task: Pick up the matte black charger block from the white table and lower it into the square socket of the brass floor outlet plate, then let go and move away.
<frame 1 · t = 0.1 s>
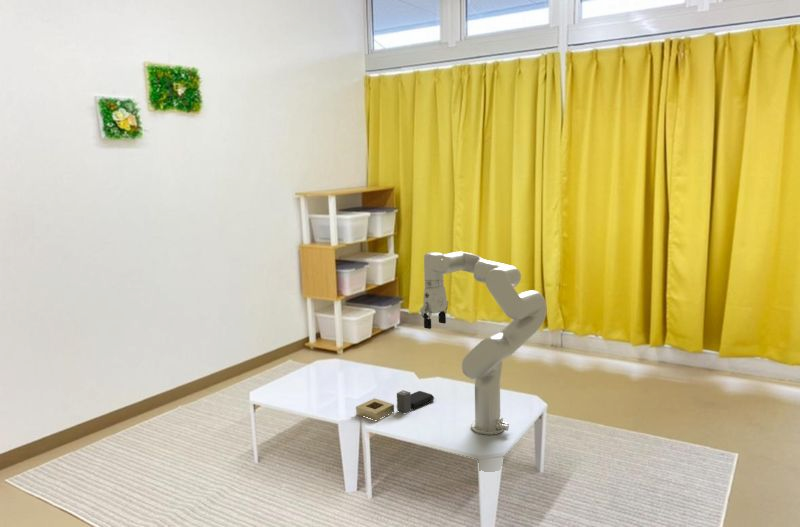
hand: (435, 325, 222), 37 cm above the table, tool pointing down, fingers open, 9 cm apart
carrying case or bag: (417, 404, 238), on the table
socket plate: (375, 413, 229), on the table
charger: (404, 411, 230), on the table
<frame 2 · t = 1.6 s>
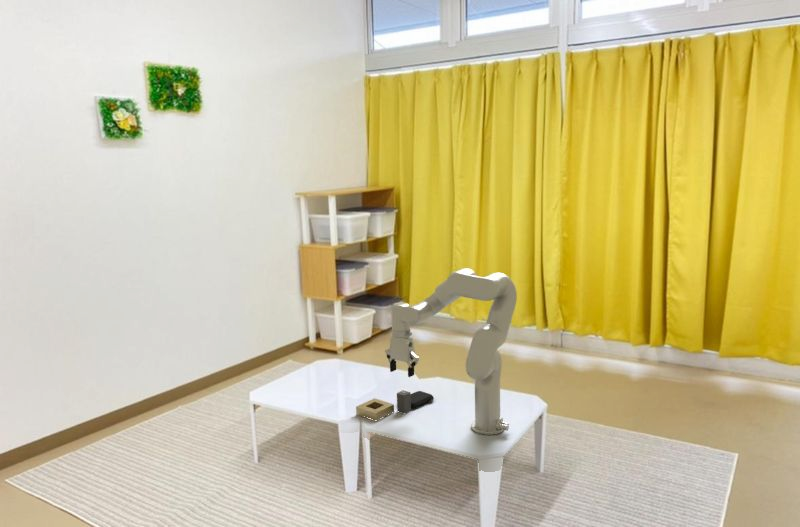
hand: (402, 373, 228), 16 cm above the table, tool pointing down, fingers open, 9 cm apart
nothing on the table moved.
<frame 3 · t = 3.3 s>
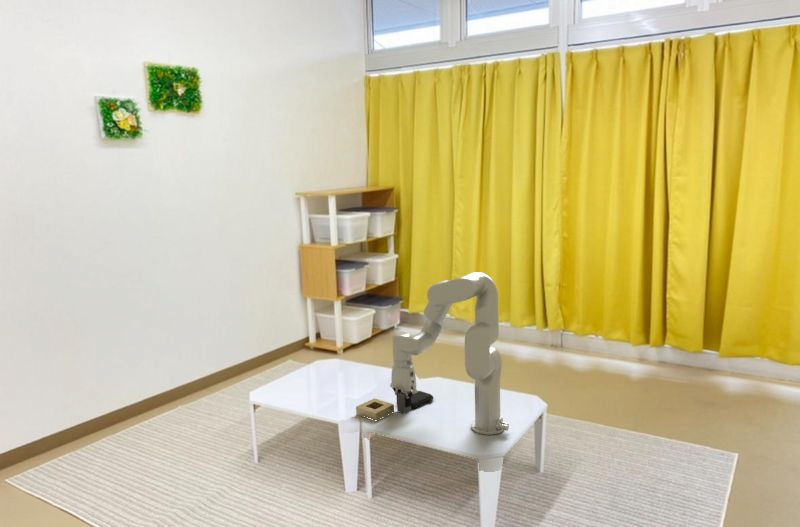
hand: (404, 404, 230), 3 cm above the table, tool pointing down, fingers closed on charger, 3 cm apart
charger: (404, 411, 230), on the table, touching gripper
everything else where it was.
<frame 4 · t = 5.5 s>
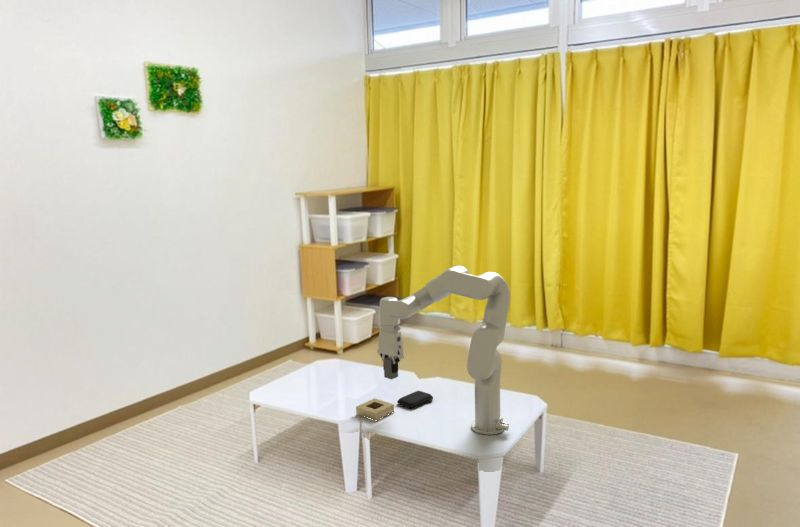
hand: (390, 370, 227), 18 cm above the table, tool pointing down, fingers closed on charger, 4 cm apart
charger: (391, 377, 227), point 15 cm above the table, touching gripper
everything else where it was.
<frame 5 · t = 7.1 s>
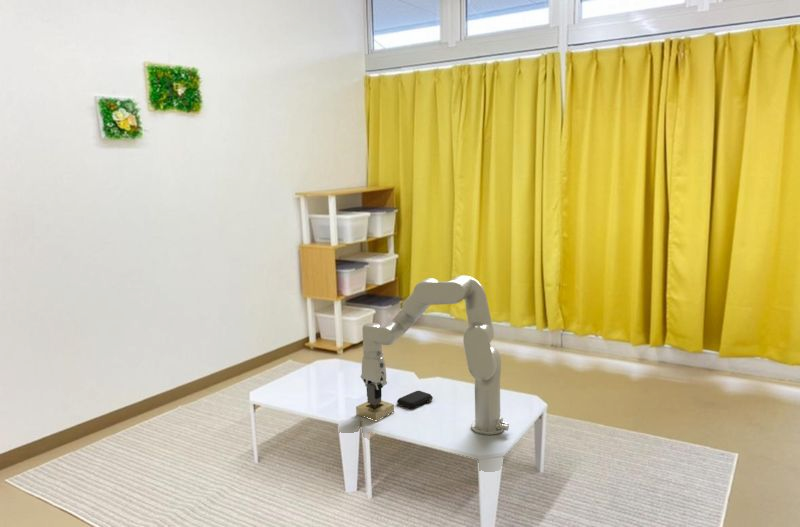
hand: (374, 396, 227), 7 cm above the table, tool pointing down, fingers closed on charger, 4 cm apart
charger: (374, 402, 228), point 5 cm above the table, touching gripper
everything else where it was.
when the fingers open (5 cm above the table, at t = 8.0 s): charger drops 2 cm, resting on socket plate.
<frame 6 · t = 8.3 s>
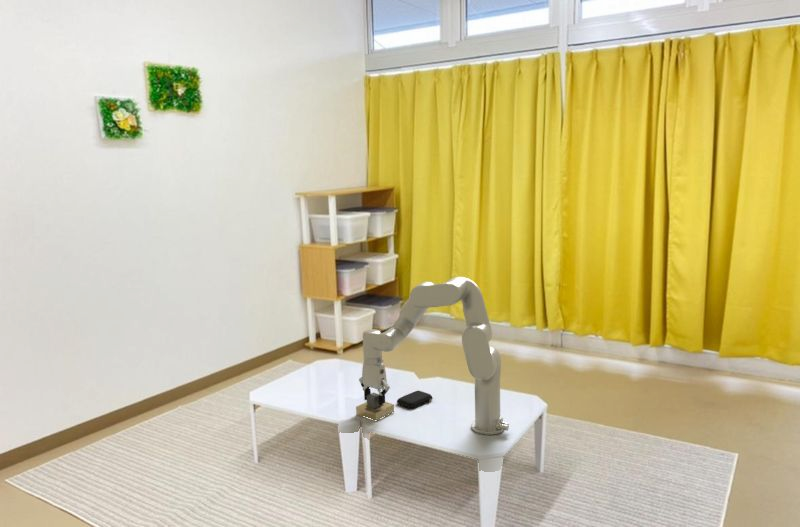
hand: (374, 401, 228), 5 cm above the table, tool pointing down, fingers open, 7 cm apart
charger: (374, 413, 228), resting on socket plate
everything else where it was.
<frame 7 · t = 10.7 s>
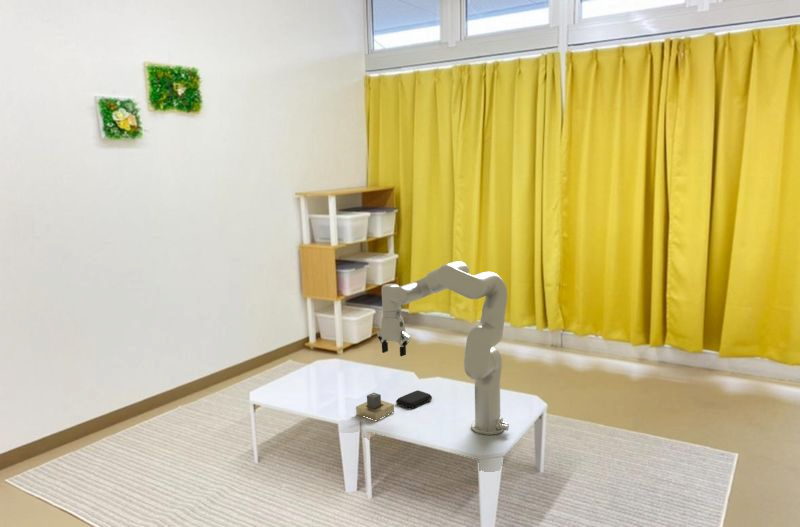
hand: (394, 353, 232), 23 cm above the table, tool pointing down, fingers open, 9 cm apart
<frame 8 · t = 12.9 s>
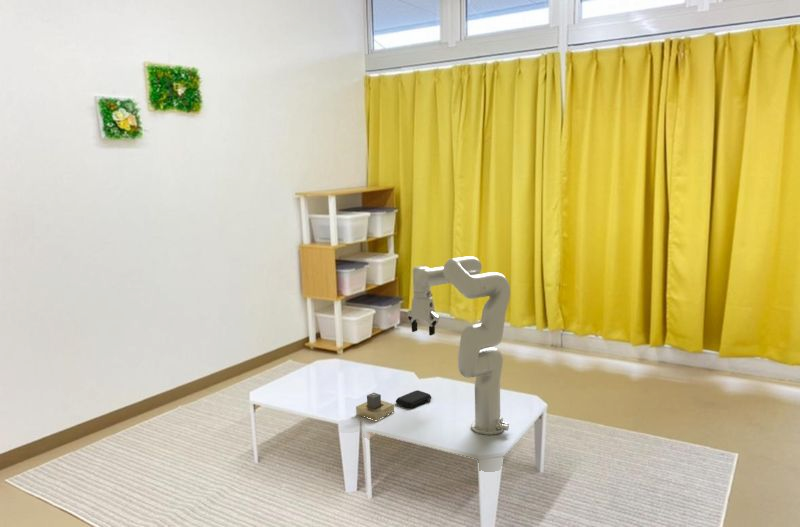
hand: (423, 333, 243), 28 cm above the table, tool pointing down, fingers open, 9 cm apart
at the end: charger 0.6 cm off-centre on the socket plate, point 0.2 cm above the socket plate's base; charger tilted 0°; the gripper is holding nothing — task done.
